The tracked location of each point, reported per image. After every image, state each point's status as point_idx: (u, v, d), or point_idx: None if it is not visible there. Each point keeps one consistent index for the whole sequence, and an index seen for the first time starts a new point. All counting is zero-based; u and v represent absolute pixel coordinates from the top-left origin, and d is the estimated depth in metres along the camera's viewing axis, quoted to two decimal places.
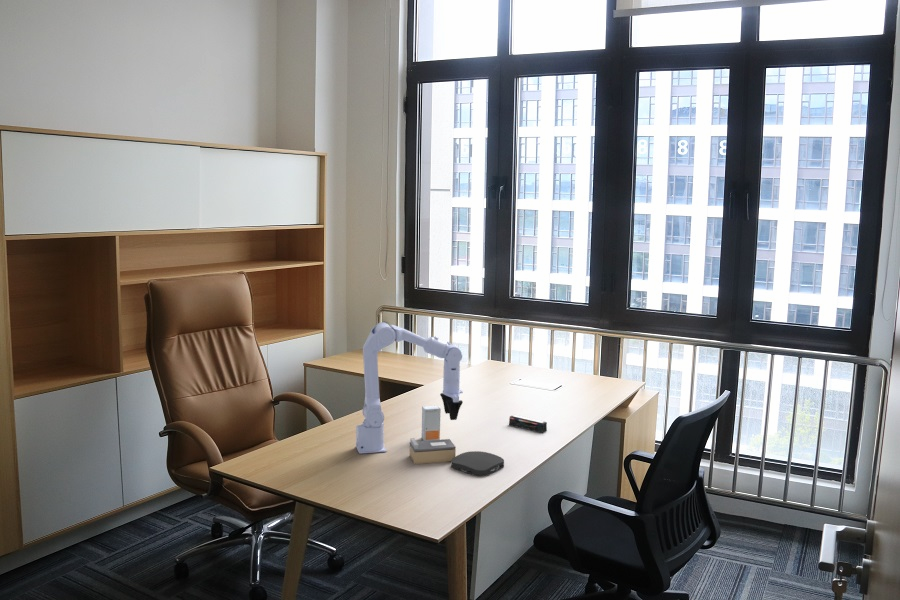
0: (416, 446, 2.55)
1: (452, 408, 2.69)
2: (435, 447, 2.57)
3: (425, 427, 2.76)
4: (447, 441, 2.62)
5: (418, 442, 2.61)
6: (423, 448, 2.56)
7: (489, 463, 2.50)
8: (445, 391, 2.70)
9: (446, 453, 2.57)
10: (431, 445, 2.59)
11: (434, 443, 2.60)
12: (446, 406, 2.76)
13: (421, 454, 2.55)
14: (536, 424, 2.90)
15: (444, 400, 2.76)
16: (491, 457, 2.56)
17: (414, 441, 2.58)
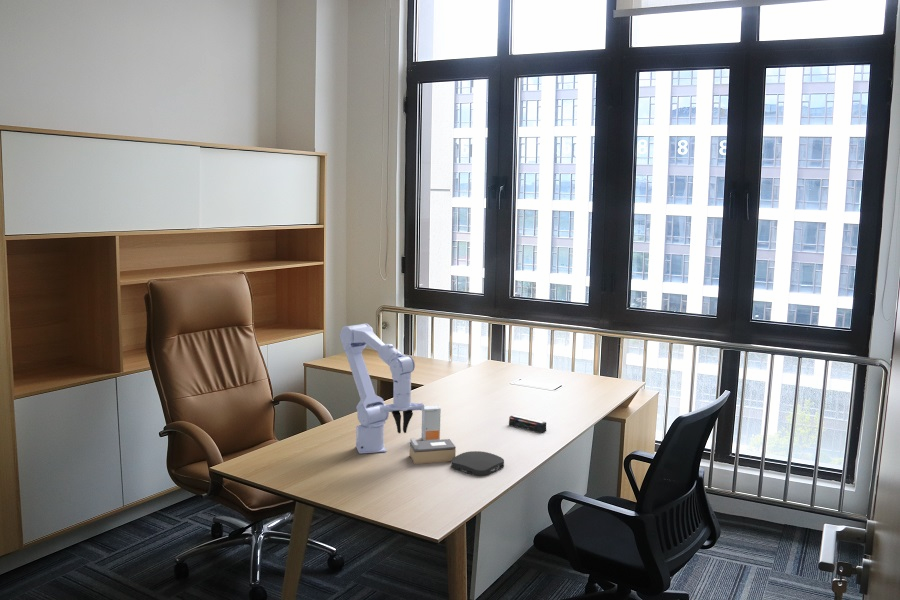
0: (416, 446, 2.55)
1: None
2: (435, 447, 2.57)
3: (425, 427, 2.76)
4: (447, 441, 2.62)
5: (418, 442, 2.61)
6: (423, 448, 2.56)
7: (489, 463, 2.50)
8: None
9: (446, 453, 2.57)
10: (431, 445, 2.59)
11: (434, 443, 2.60)
12: (403, 423, 2.57)
13: (421, 454, 2.55)
14: (536, 424, 2.90)
15: (403, 416, 2.57)
16: (491, 457, 2.56)
17: (414, 441, 2.58)
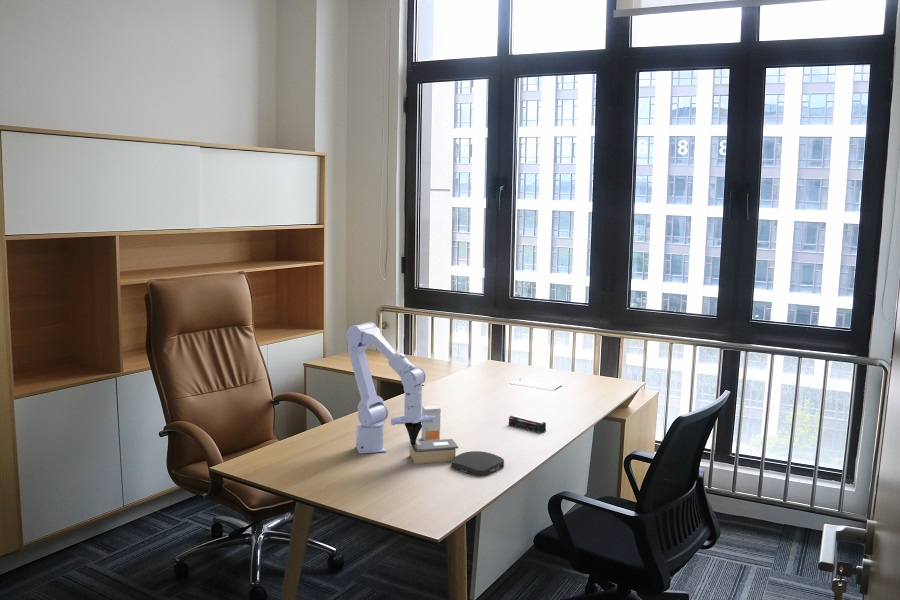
0: (419, 446, 2.55)
1: None
2: (438, 447, 2.57)
3: (425, 427, 2.76)
4: (450, 441, 2.63)
5: (421, 442, 2.62)
6: (426, 448, 2.56)
7: (489, 463, 2.50)
8: None
9: (446, 453, 2.57)
10: (434, 445, 2.59)
11: (437, 443, 2.61)
12: None
13: (421, 454, 2.55)
14: (535, 424, 2.89)
15: None
16: (491, 457, 2.56)
17: (417, 441, 2.58)
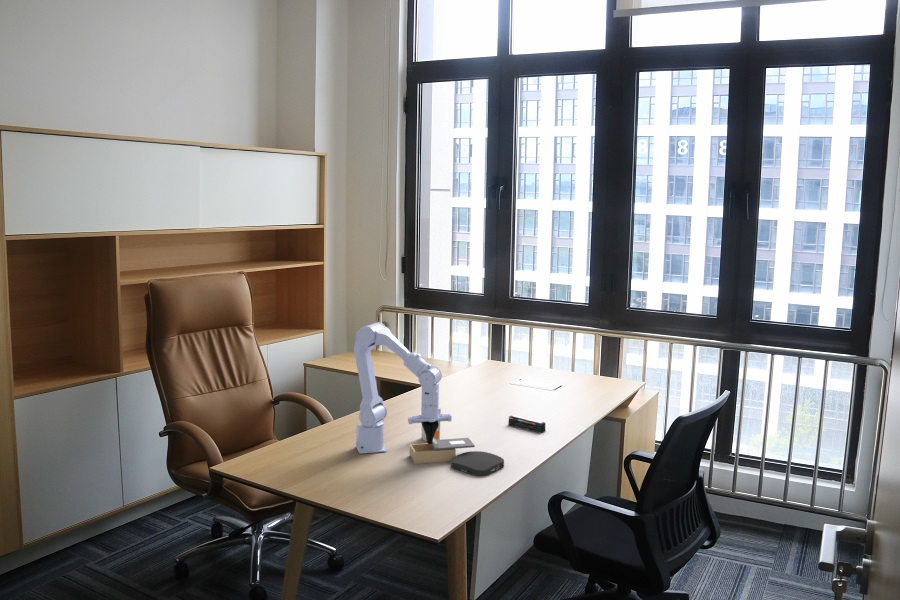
0: (436, 445, 2.56)
1: None
2: (454, 446, 2.58)
3: None
4: (466, 440, 2.64)
5: (437, 441, 2.63)
6: (442, 447, 2.57)
7: (489, 463, 2.50)
8: None
9: (446, 453, 2.57)
10: (450, 444, 2.60)
11: (453, 442, 2.62)
12: None
13: (421, 454, 2.55)
14: (535, 424, 2.89)
15: None
16: (491, 457, 2.56)
17: (433, 440, 2.60)
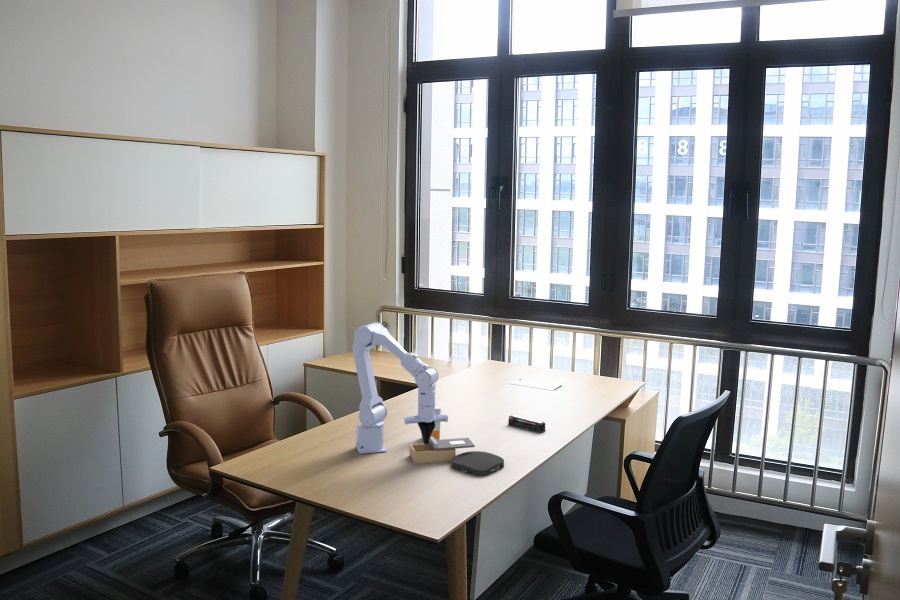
0: (436, 445, 2.56)
1: None
2: (454, 446, 2.58)
3: None
4: (466, 440, 2.64)
5: (437, 441, 2.63)
6: (442, 447, 2.57)
7: (489, 463, 2.50)
8: None
9: (446, 453, 2.57)
10: (450, 444, 2.60)
11: (453, 442, 2.62)
12: None
13: (421, 454, 2.55)
14: (534, 424, 2.89)
15: None
16: (491, 457, 2.56)
17: (433, 440, 2.60)
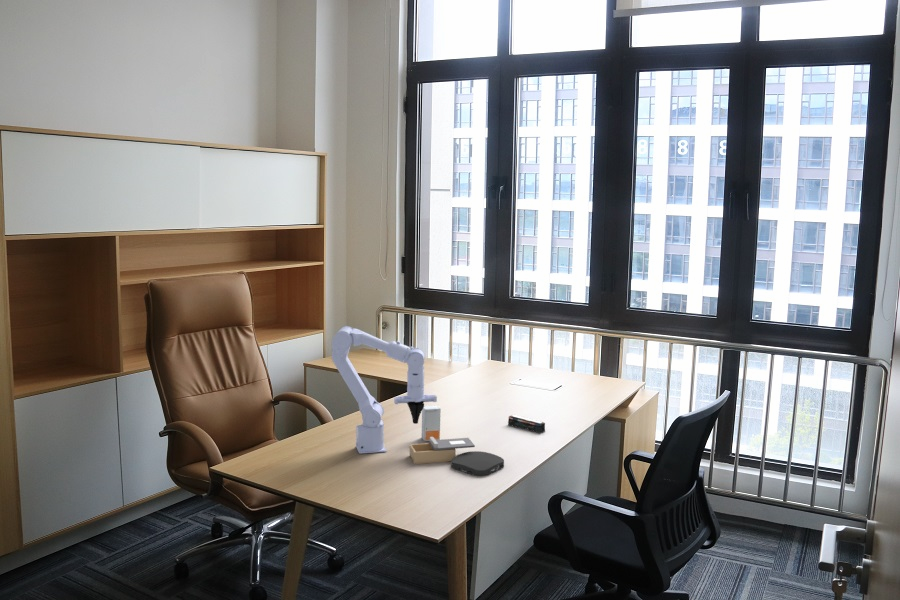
0: (436, 445, 2.56)
1: None
2: (454, 446, 2.58)
3: (425, 427, 2.76)
4: (466, 440, 2.64)
5: (437, 441, 2.63)
6: (442, 447, 2.57)
7: (489, 463, 2.50)
8: None
9: (446, 453, 2.57)
10: (450, 444, 2.60)
11: (453, 442, 2.62)
12: None
13: (421, 454, 2.55)
14: (534, 424, 2.89)
15: None
16: (491, 457, 2.56)
17: (433, 440, 2.60)
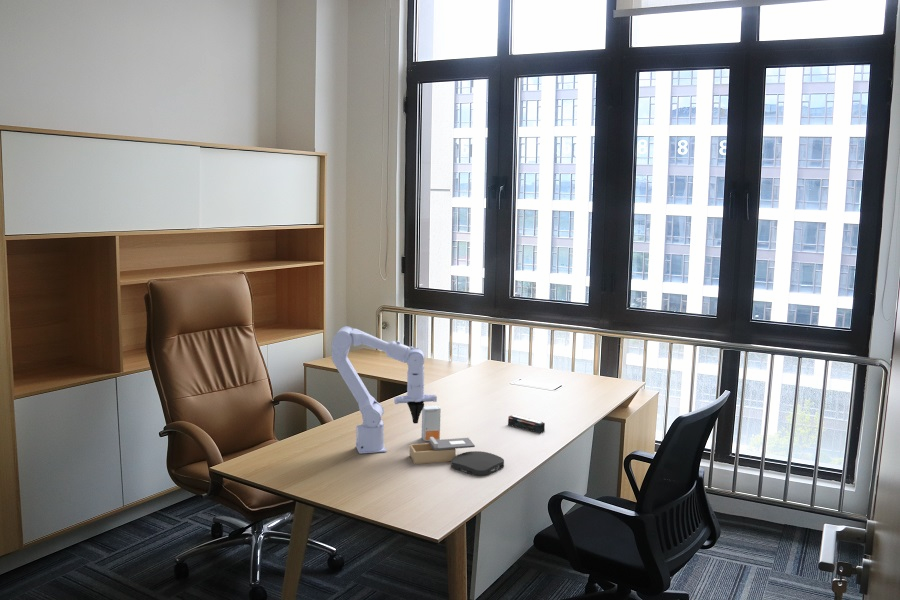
0: (436, 445, 2.56)
1: None
2: (454, 446, 2.58)
3: (425, 427, 2.76)
4: (466, 440, 2.64)
5: (437, 441, 2.63)
6: (442, 447, 2.57)
7: (489, 463, 2.50)
8: None
9: (446, 453, 2.57)
10: (450, 444, 2.60)
11: (453, 442, 2.62)
12: None
13: (421, 454, 2.55)
14: (534, 424, 2.89)
15: None
16: (491, 457, 2.56)
17: (433, 440, 2.60)
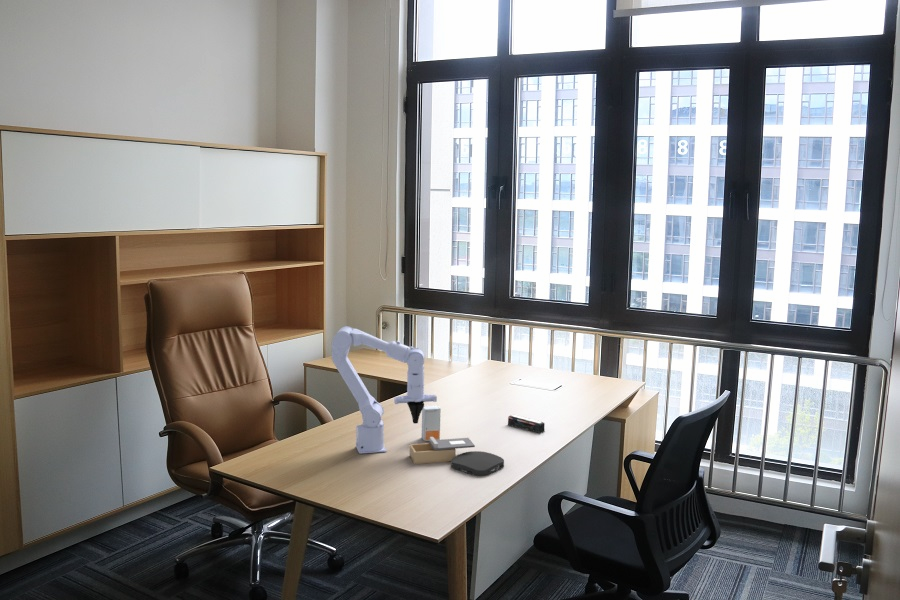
0: (436, 445, 2.56)
1: None
2: (454, 446, 2.58)
3: (425, 427, 2.76)
4: (466, 440, 2.64)
5: (437, 441, 2.63)
6: (442, 447, 2.57)
7: (489, 463, 2.50)
8: None
9: (446, 453, 2.57)
10: (450, 444, 2.60)
11: (453, 442, 2.62)
12: None
13: (421, 454, 2.55)
14: (534, 424, 2.89)
15: None
16: (491, 457, 2.56)
17: (433, 440, 2.60)
